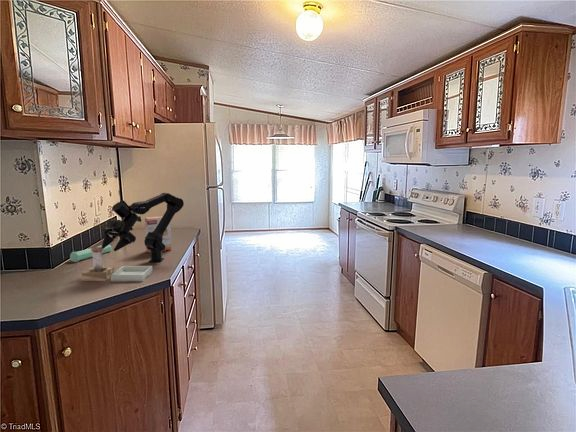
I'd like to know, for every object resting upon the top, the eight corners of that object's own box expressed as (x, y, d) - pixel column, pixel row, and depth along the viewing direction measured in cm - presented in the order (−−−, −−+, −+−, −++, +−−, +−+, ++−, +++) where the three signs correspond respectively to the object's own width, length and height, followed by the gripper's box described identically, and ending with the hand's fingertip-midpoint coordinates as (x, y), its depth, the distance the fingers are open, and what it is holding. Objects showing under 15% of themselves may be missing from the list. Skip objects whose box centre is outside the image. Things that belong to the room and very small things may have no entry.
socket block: (92, 273, 168) (92, 266, 167) (114, 273, 168) (114, 266, 168) (82, 280, 158) (81, 273, 157) (105, 280, 159) (104, 273, 158)
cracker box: (148, 253, 207) (146, 218, 204) (145, 251, 212) (144, 217, 209) (172, 250, 215) (170, 216, 212) (168, 248, 220) (167, 215, 217)
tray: (123, 271, 172) (123, 265, 171) (152, 271, 173) (152, 265, 172) (111, 281, 158) (110, 274, 157) (143, 281, 159) (142, 274, 158)
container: (107, 241, 211) (71, 249, 187) (114, 245, 210) (79, 254, 186) (104, 249, 212) (68, 259, 188) (112, 254, 211) (77, 264, 187)
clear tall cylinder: (95, 275, 165) (94, 246, 163) (106, 275, 166) (104, 246, 164) (91, 279, 161) (88, 249, 159) (101, 278, 161) (99, 249, 159)
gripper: (104, 211, 173) (83, 237, 165) (129, 215, 164) (108, 242, 156) (119, 225, 181) (100, 250, 173) (144, 229, 172) (125, 255, 164)
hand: (108, 249), depth 166 cm, fingers open, 9 cm apart
